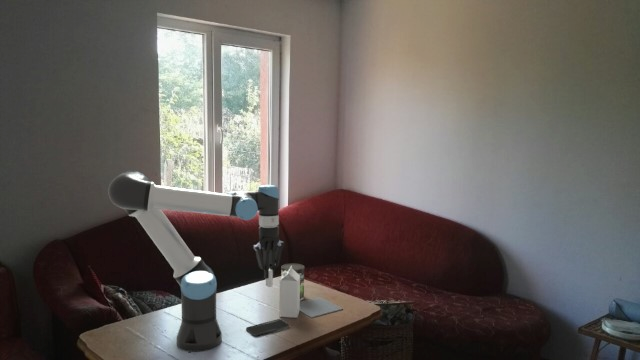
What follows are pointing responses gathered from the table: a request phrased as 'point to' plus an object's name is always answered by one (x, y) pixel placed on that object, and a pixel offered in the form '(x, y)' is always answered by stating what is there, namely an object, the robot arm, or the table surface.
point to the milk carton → (289, 294)
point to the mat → (317, 307)
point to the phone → (267, 327)
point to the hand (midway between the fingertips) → (269, 285)
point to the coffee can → (300, 271)
